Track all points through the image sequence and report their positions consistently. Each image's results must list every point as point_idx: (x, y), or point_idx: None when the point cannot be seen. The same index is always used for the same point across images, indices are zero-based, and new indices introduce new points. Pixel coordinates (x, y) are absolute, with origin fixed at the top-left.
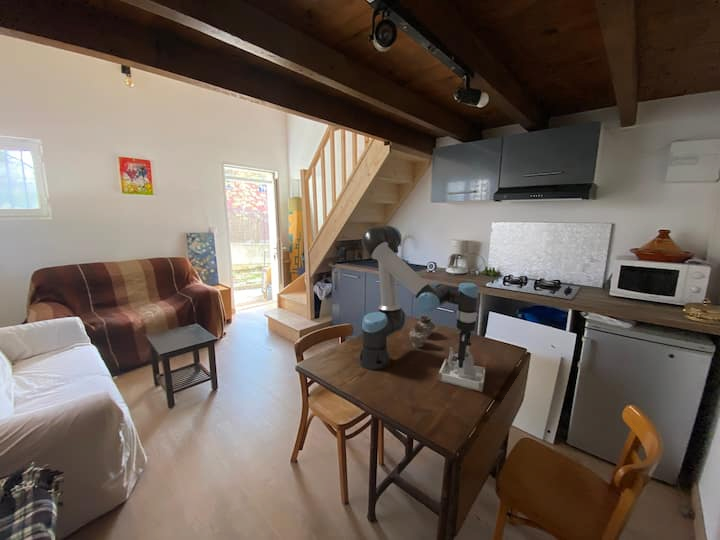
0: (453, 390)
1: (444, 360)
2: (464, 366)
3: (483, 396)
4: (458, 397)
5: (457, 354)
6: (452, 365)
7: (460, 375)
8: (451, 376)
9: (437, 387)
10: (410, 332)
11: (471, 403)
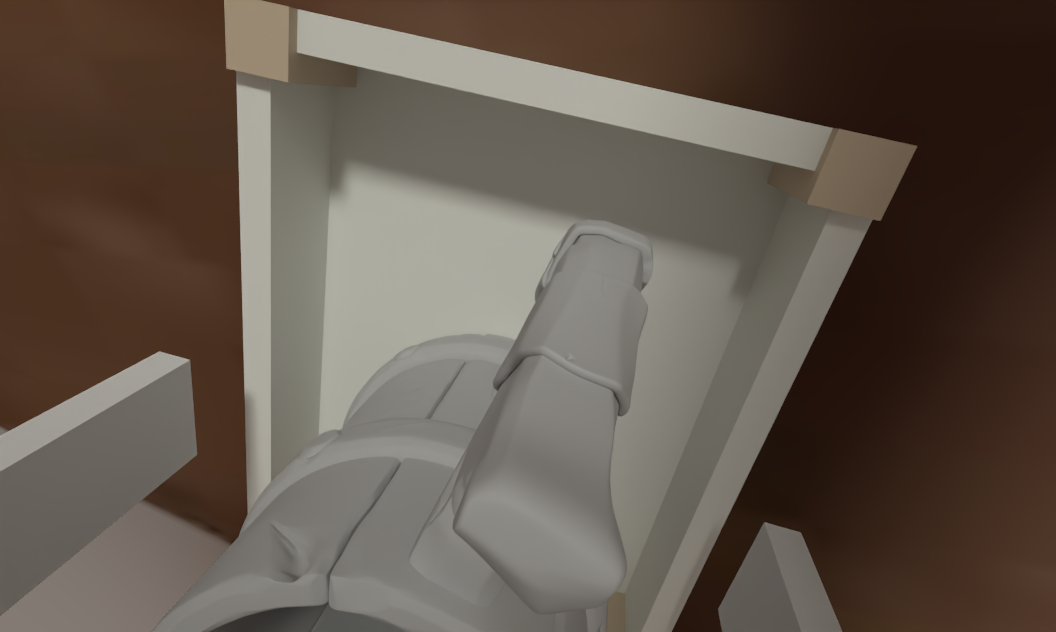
0: (198, 236)
1: (828, 129)
2: (43, 570)
3: (243, 501)
4: (105, 279)
5: (343, 597)
6: (538, 295)
7: (373, 375)
8: (243, 242)
9: (156, 16)
10: None
11: (87, 385)
